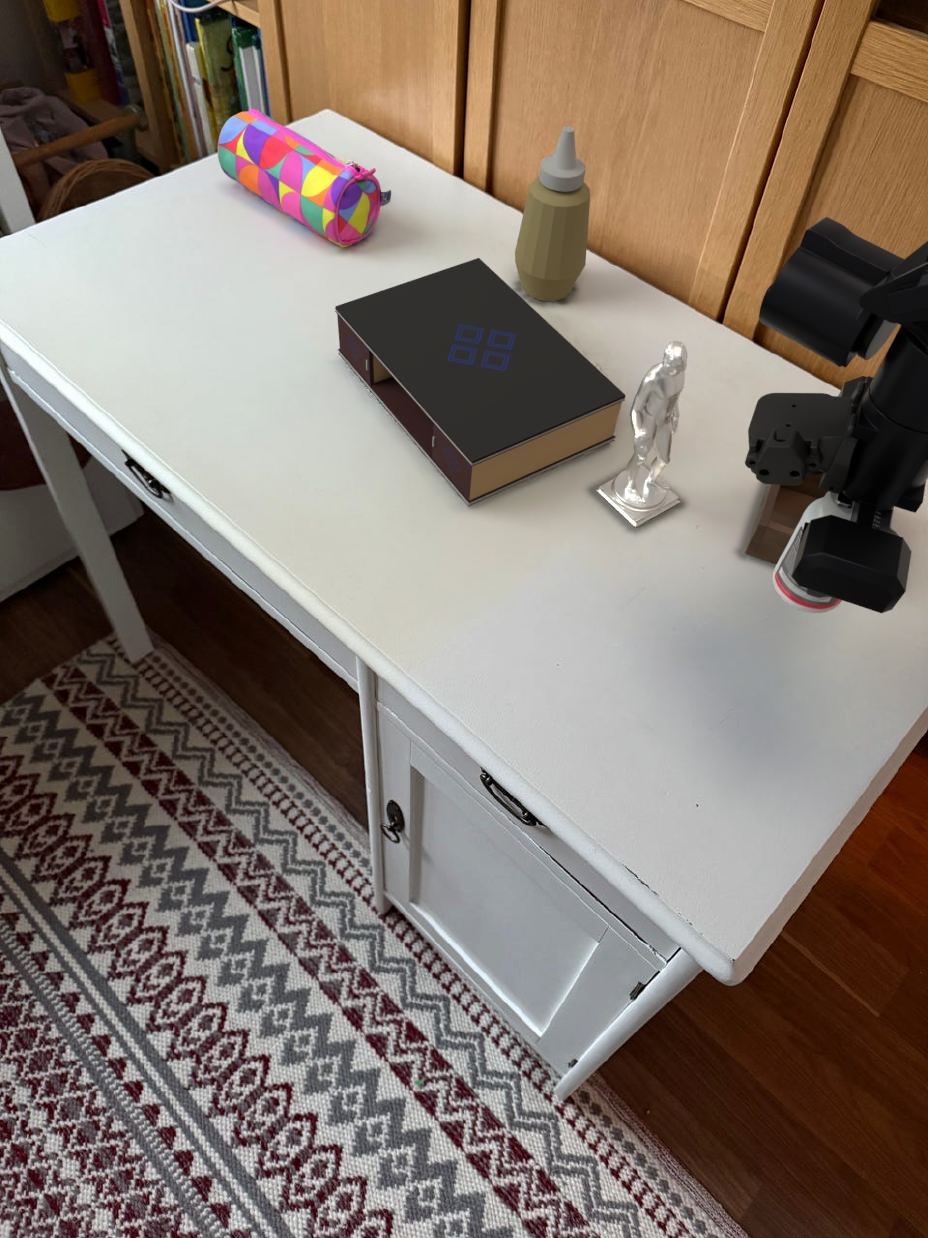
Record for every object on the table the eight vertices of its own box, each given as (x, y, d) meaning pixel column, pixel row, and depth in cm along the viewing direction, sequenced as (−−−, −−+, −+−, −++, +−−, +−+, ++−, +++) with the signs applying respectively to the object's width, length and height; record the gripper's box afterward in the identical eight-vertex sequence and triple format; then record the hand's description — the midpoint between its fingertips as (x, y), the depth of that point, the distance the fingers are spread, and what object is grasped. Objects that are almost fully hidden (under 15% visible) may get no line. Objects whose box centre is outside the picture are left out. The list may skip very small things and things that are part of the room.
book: (467, 513, 84) (471, 461, 79) (338, 359, 96) (334, 306, 90) (613, 446, 90) (626, 394, 85) (475, 310, 102) (478, 257, 96)
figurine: (613, 540, 83) (657, 386, 68) (574, 490, 87) (608, 333, 72) (687, 512, 86) (744, 357, 71) (646, 464, 89) (693, 307, 74)
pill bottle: (843, 622, 66) (903, 535, 59) (770, 607, 67) (819, 519, 59) (841, 566, 70) (897, 476, 62) (771, 552, 70) (818, 462, 62)
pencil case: (397, 229, 110) (396, 155, 103) (343, 262, 106) (338, 188, 98) (271, 163, 118) (261, 90, 110) (216, 192, 113) (202, 117, 106)
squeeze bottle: (497, 289, 104) (512, 131, 90) (535, 258, 108) (555, 100, 94) (557, 317, 102) (582, 159, 87) (593, 283, 106) (623, 126, 91)
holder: (871, 515, 87) (890, 485, 83) (854, 591, 81) (873, 562, 78) (768, 481, 89) (782, 450, 85) (744, 553, 83) (758, 523, 80)
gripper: (809, 278, 60) (739, 450, 73) (751, 461, 50) (681, 624, 63) (981, 325, 58) (878, 493, 71) (958, 525, 48) (843, 680, 61)
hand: (819, 565), depth 66 cm, fingers closed on pill bottle, 5 cm apart
